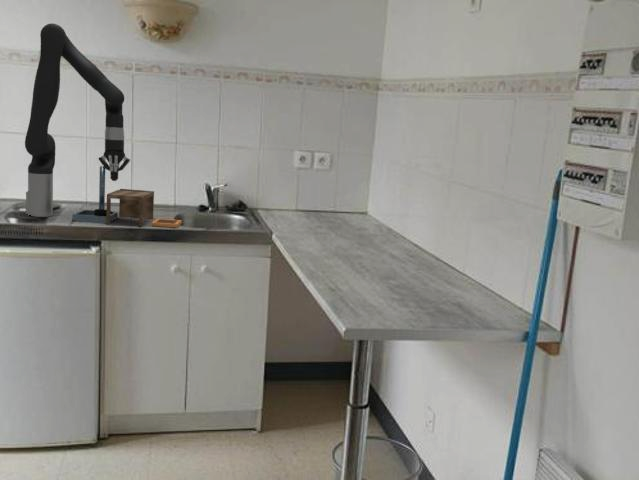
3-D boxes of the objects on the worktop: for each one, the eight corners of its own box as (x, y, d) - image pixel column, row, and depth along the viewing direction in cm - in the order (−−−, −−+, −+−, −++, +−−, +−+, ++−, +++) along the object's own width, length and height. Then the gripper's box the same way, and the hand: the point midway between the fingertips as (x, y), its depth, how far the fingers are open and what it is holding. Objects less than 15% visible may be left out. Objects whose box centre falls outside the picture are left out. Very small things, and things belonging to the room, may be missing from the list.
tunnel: (106, 224, 264) (106, 194, 261) (119, 216, 283) (120, 188, 281) (141, 227, 264) (142, 196, 262) (153, 219, 283) (154, 191, 281)
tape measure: (108, 218, 270) (108, 209, 270) (91, 218, 270) (91, 208, 270) (113, 219, 277) (113, 210, 277) (97, 219, 277) (97, 210, 277)
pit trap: (151, 226, 267) (151, 222, 267) (157, 221, 278) (157, 218, 278) (176, 228, 267) (176, 224, 267) (181, 223, 278) (181, 220, 278)
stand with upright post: (72, 220, 265) (72, 168, 261) (85, 214, 281) (86, 165, 277) (108, 222, 265) (109, 170, 262) (119, 216, 281) (120, 167, 277)
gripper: (95, 137, 270) (95, 180, 273) (128, 139, 270) (128, 182, 274) (101, 137, 277) (101, 178, 281) (133, 139, 278) (132, 180, 281)
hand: (114, 180), depth 277 cm, fingers closed
